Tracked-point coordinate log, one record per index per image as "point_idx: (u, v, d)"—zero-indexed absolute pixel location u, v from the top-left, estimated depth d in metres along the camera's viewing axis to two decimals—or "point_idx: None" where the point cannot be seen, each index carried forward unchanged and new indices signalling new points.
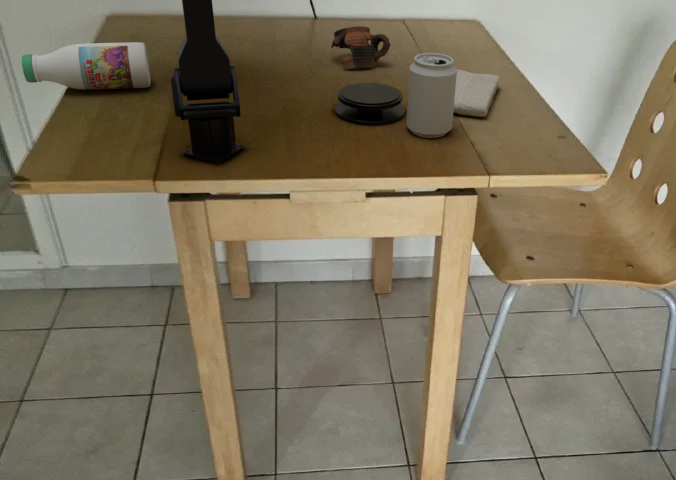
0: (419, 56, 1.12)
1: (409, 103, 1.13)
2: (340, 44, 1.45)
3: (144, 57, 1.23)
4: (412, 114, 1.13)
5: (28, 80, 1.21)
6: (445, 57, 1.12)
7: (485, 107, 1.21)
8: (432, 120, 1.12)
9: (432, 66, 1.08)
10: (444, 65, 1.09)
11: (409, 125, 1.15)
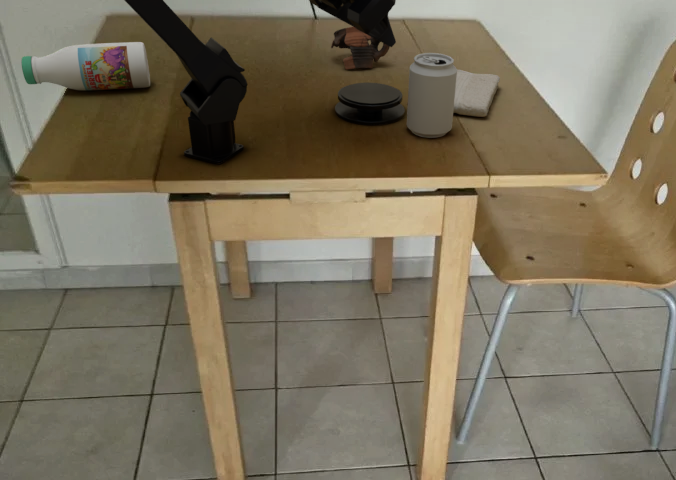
0: (419, 56, 1.12)
1: (409, 103, 1.13)
2: (340, 44, 1.45)
3: (143, 57, 1.23)
4: (412, 114, 1.13)
5: (28, 82, 1.21)
6: (445, 57, 1.12)
7: (485, 107, 1.21)
8: (432, 120, 1.12)
9: (432, 66, 1.08)
10: (444, 65, 1.09)
11: (409, 125, 1.15)
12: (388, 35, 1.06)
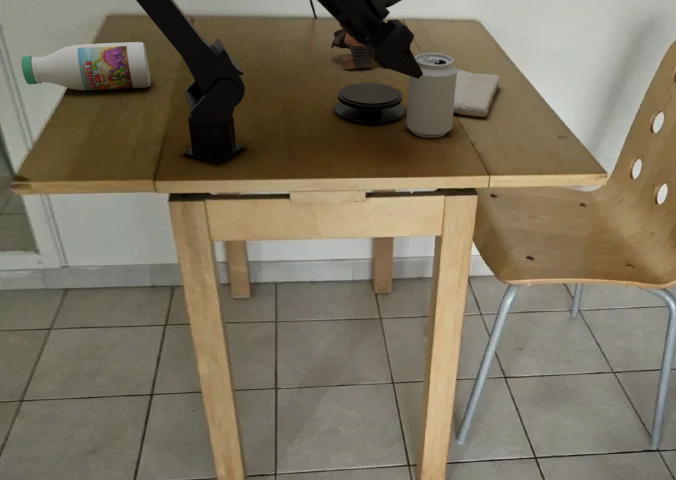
0: (419, 56, 1.12)
1: (409, 103, 1.13)
2: (340, 44, 1.45)
3: (143, 57, 1.23)
4: (412, 114, 1.13)
5: (28, 82, 1.21)
6: (445, 57, 1.12)
7: (485, 107, 1.21)
8: (432, 120, 1.12)
9: (432, 66, 1.08)
10: (444, 65, 1.09)
11: (409, 125, 1.15)
12: (413, 67, 1.04)
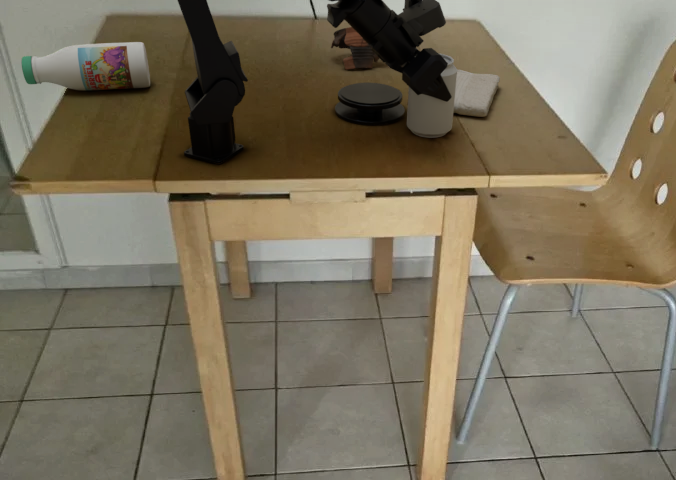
0: None
1: (409, 103, 1.13)
2: (340, 44, 1.45)
3: (143, 57, 1.23)
4: (413, 114, 1.13)
5: (28, 82, 1.21)
6: (445, 57, 1.12)
7: (485, 107, 1.21)
8: (432, 120, 1.12)
9: None
10: None
11: (409, 125, 1.15)
12: (443, 91, 1.09)
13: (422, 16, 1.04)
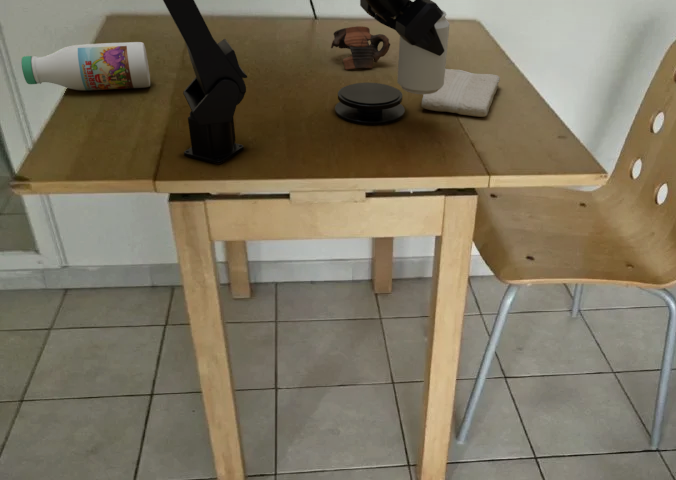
0: None
1: (400, 58, 1.11)
2: (340, 44, 1.45)
3: (143, 57, 1.23)
4: (404, 69, 1.10)
5: (28, 82, 1.21)
6: None
7: (485, 107, 1.21)
8: (424, 75, 1.10)
9: None
10: None
11: (400, 82, 1.12)
12: (436, 44, 1.06)
13: None
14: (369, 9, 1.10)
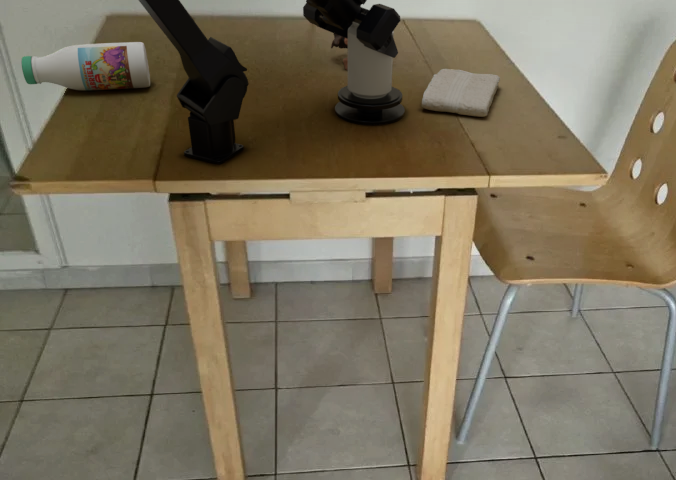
0: None
1: (352, 67, 1.16)
2: (340, 44, 1.45)
3: (143, 57, 1.23)
4: (357, 77, 1.16)
5: (28, 82, 1.21)
6: None
7: (485, 107, 1.21)
8: (377, 81, 1.16)
9: None
10: None
11: (354, 89, 1.18)
12: (392, 47, 1.12)
13: None
14: (316, 19, 1.14)
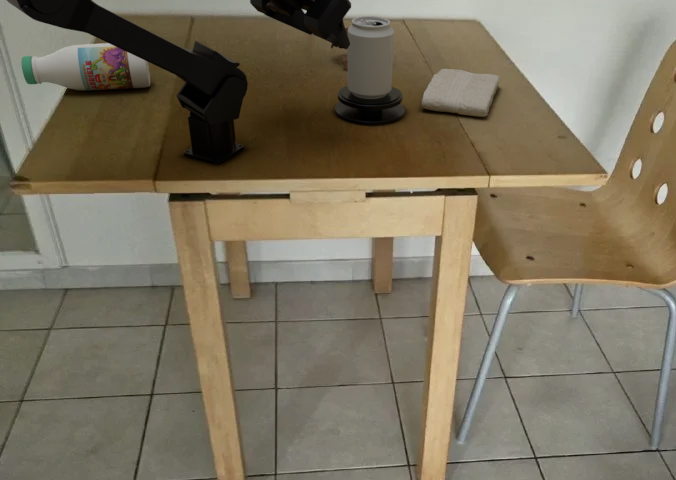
0: (355, 20, 1.15)
1: (352, 67, 1.16)
2: None
3: None
4: (357, 77, 1.16)
5: (28, 82, 1.21)
6: (378, 19, 1.16)
7: (485, 107, 1.21)
8: (377, 81, 1.16)
9: (375, 27, 1.12)
10: (385, 25, 1.13)
11: (354, 89, 1.18)
12: (343, 38, 1.06)
13: None
14: (263, 6, 1.07)
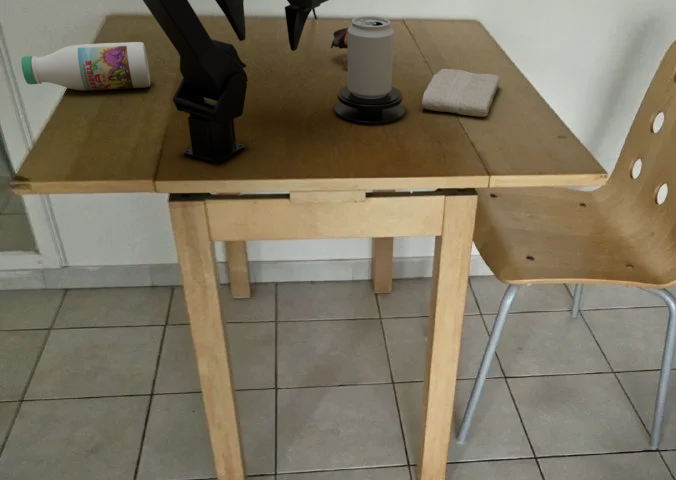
0: (355, 20, 1.15)
1: (352, 67, 1.16)
2: (340, 44, 1.45)
3: (143, 57, 1.23)
4: (357, 77, 1.16)
5: (28, 82, 1.21)
6: (378, 19, 1.16)
7: (486, 107, 1.21)
8: (377, 81, 1.16)
9: (375, 27, 1.12)
10: (385, 25, 1.13)
11: (354, 89, 1.18)
12: (298, 35, 1.06)
13: None
14: None
